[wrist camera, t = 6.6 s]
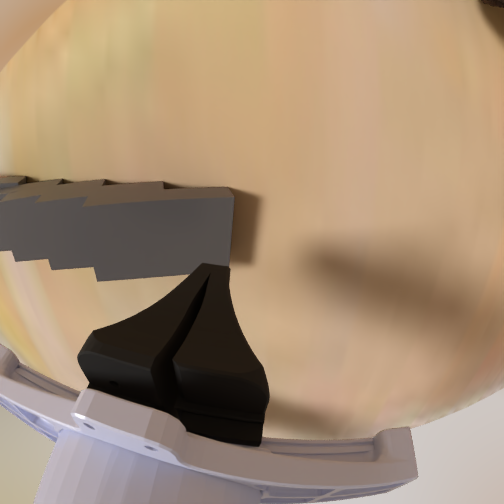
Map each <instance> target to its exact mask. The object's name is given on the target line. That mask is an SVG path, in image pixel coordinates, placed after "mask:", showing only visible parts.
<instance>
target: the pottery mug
mask: <svg viewBox="0 0 504 504" xmlns="http://www.w3.org/2000/svg"><path fill="white" fill-rule="evenodd" d="M481 1H482V2H483V3H486V4H489V5H491V6H498V7H501V8H504V0H481Z"/></svg>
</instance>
